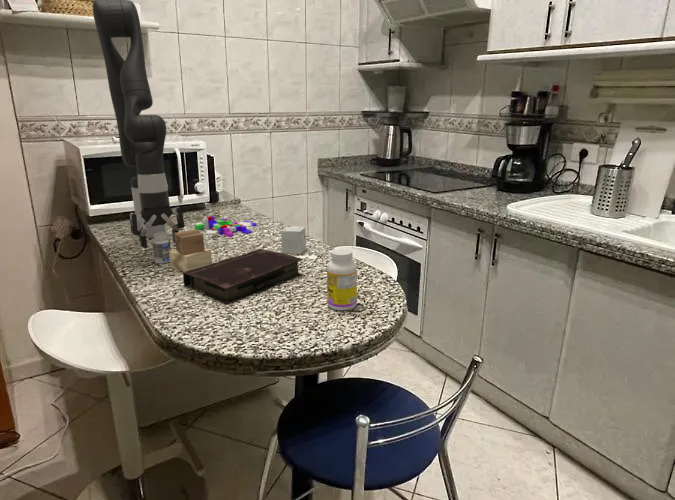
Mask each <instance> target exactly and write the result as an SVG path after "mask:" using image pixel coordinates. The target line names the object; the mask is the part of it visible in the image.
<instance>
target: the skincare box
mask: <svg viewBox="0 0 675 500" xmlns="http://www.w3.org/2000/svg"><path fill="white" fill-rule="evenodd" d="M280 232H281V233H280V237H281V253H283V254H287V255H301V254H302V253H304V251H306V250H307V240H306V239H307V236H306V234H307V233H306V226H295V225H294V226H293V225H288V226H286V227H284V228H283V229H281V231H280Z"/></svg>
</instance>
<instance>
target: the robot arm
mask: <svg viewBox="0 0 675 500" xmlns="http://www.w3.org/2000/svg"><path fill="white" fill-rule="evenodd" d="M92 12H93V13H92V14H93V19H94V23H95V24H94V25H95V28H96V32H97V36H98V39H99V43H100V48H101V51H102V56H103V60H104V64H105V70H106V75H107V82H108V88H109V94H110V99H111V102H112V106H113V111H114V115H115V120H116V125H117V132H118V138H119V139H118V140H119V141H118V142H119V147H120V148H119V149H120V155H121V158H122V162H123V163H124V165H125V166H127V167H132V168H133V167H136V172H137V173H136V174H137V175H136V176H134V177H132V178H131V179H130V187H131V194H132V195H131V196H132V202H133V208H134V212H130V213H129V223H130V232H131V234H132V235H134V236H137V237H139V245H140V247H142V248H143V249H144V250H146V249H148V247H149V246H148V241H147V239H148V238H149V239H150V238H153V234H154V233H157V232H167V229H166V225H167V226H169V227H170V228H171V229H172V230H171V234H172V242H173V243H174V244H175V245H176V243H175V235H174V233H177V232H180V229H182V228H185V220H184V219H185V218H184V215H183V209H182V208H181V207H180V206H175V207H174V208H171V205H170V196H169V185H168V182H167V177H166V173H165V164H164V150H165V149H164V148H165V141H166V136H167V124H166V121H165V120H164V118H162V116H160V115H158V114H142V115H141V113H142V111H146V110H148V109H150V108H151V107H152V106H153V104H154V103H153V101H154V100H153V96H152V92H151V88H150V83H149V80H148V75H147V69H146V68H147V67H146V61H145V50H144V44H143V43H144V42H143V34H142V28H141V22H140V17H139V13H138V9H137V7H136V5H135V3H134V2H133V1H131V0H94V1H93V3H92ZM112 38H130V39H129V40H130V46H129V50H128V53H127V55H126V57H125V59H124V58H123V56H122V55H121V54H120V52H119V51H118V50H117V47H116V46H115V44H114V42H113V41H112ZM172 215H174V216H175V217H176V222H177V223H176V224H175V222H174V221H173V220H171V219H170V218H171V216H172Z"/></svg>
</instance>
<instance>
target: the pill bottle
mask: <svg viewBox="0 0 675 500" xmlns="http://www.w3.org/2000/svg"><path fill="white" fill-rule="evenodd" d="M152 239H153V240H152V243H151V244H152V251H153V257H154V262H155V263H156V264H166V263H170V255H169V251H172V250H171V249H172V248H171V240H170V239H169V235H168V232H167V231H166V232H157V233H154V234H153V237H152Z"/></svg>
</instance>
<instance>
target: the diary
mask: <svg viewBox="0 0 675 500" xmlns="http://www.w3.org/2000/svg"><path fill="white" fill-rule="evenodd" d="M303 260H304V259H303V258H301V257H297V256H293V255H291V254H284V253H282V252H278V251H274V250H273V251H272V250H268V249H264V248H259V249H255V250H253V251H249V252H247V253H243V254H241V255H238V256H237V255H236V256H232V257H229V258H225V259H222V260H219V261H217V262H214V263H213V262H212V264H210V265H207V266H204V267H200V268H196V269H193V270H189V271H185V272H182V278H183V279H182V280H183V284H184V288H187V287H189V289H193V288H194V289H196V290H198V291H200V292H202V295H203V296H205V297H208V298H210V299H212V300H215V301H217V302H220V303H222V304H232V303H234V302H236V301H237V302H238V301H240V300H242V299H246V298H248V297H250V296H253V295H255V294H258V293H260V292H263V291H265V290H267V289H270V288H272V287H276V286H278V285H279V284H280V283H283V282H286V281H289V280H292V279H295V278H298V277H301V276H304V274H303V273H300V272H299V262H301V261H303ZM190 286H191V287H190Z"/></svg>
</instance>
